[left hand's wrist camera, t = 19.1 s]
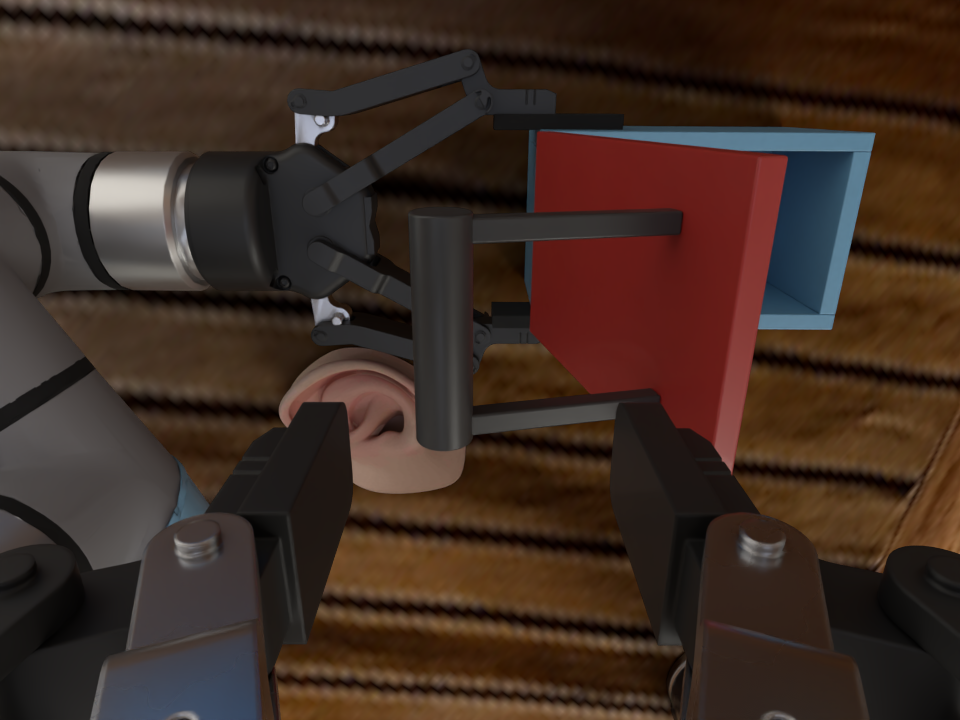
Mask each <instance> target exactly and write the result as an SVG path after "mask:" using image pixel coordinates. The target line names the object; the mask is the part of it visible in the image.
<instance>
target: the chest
mask: <svg viewBox="0 0 960 720" xmlns="http://www.w3.org/2000/svg"><path fill="white" fill-rule="evenodd" d="M538 131H555V132H565V133H574V134H584V135H594V136H604V137H613V138H623V139H633V140H642V141H652V142H662V143H672V144H681V145H691V146H701V147H710V148H720V149H730V150H740V151H749V152H759V153H769V154H779V155H785V156H787V157H788V161H787V167H786V173H785V178H784V184H783V190H782V195H781V201H780V206H779V212H778V218H777V223H776V229H775V235H774V240H773V246H772V252H771V257H770V263H769V269H768V274H767V280H766V286H765V291H764V297H763V302H762V308H761V314H760V319H759V325H758V329H832V326H833V321H834V317H835V315H834V314H835V312H836V308H837V303H838V299H839V294H840V290H841V285H842V281H843V276H844V272H845V267H846V263H847V258H848V254H849V249H850V245H851V240H852V236H853V231H854V227H855V222H856V218H857V214H858V209H859V205H860V200H861V196H862V191H863V187H864V182H865V178H866V173H867V169H868V164H869V160H870V155H871V152H870V151H872V146H873V142H874V137H875V133H869V132H853V131H838V130H822V129H806V128H791V127H694V126H623V130H552V129H541V130H529V155H528V186H527V213H532V212H534V202H535V175H536V148H537V132H538ZM532 257H533V241H529V242H526V247H525V278H524V281H525V285H526V289H527V293H528V297H529V301H530V305H531V284H532Z"/></svg>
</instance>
